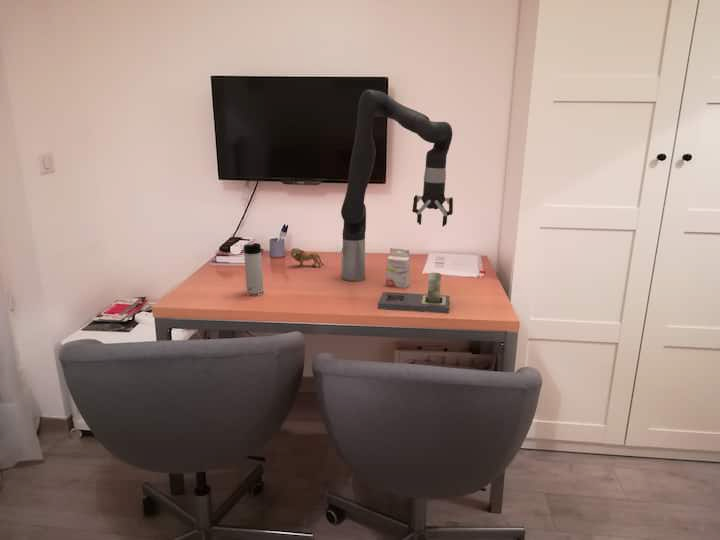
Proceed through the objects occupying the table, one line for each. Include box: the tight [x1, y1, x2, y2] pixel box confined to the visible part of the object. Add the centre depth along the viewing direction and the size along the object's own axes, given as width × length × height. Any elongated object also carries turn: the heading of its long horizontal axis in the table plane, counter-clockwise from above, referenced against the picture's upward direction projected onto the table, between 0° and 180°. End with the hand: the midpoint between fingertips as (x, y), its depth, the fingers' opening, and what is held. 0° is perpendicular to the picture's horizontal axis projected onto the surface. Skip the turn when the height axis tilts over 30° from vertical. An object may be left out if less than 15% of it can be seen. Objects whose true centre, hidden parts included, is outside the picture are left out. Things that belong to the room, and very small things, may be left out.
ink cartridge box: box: [385, 247, 411, 289], centre depth 212 cm, size 9×5×15 cm, turn 71°
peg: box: [427, 272, 442, 303], centre depth 191 cm, size 4×4×12 cm
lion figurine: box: [290, 247, 325, 269], centre depth 237 cm, size 15×5×9 cm, turn 99°
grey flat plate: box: [377, 291, 451, 314], centre depth 194 cm, size 25×12×2 cm, turn 80°
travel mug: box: [243, 243, 264, 296], centre depth 202 cm, size 6×7×20 cm
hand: (431, 225), depth 193 cm, fingers open, 8 cm apart
